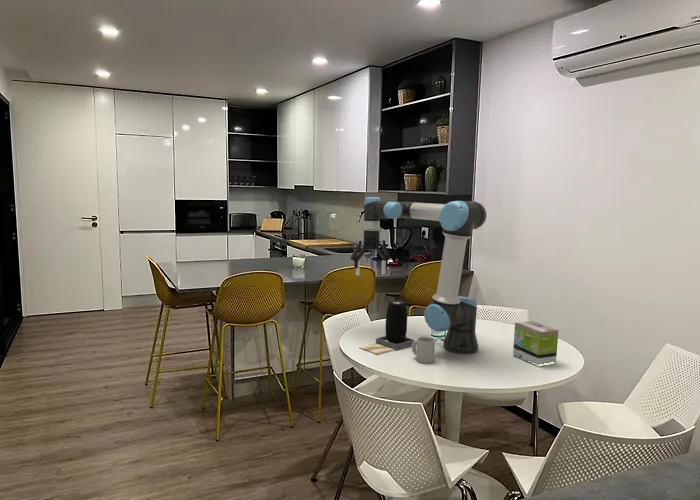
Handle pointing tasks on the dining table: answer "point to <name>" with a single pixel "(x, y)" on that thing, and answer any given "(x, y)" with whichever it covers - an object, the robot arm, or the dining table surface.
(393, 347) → the tray
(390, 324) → the portable speaker
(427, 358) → the cup
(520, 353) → the tea box
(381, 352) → the birch board
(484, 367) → the dining table surface
